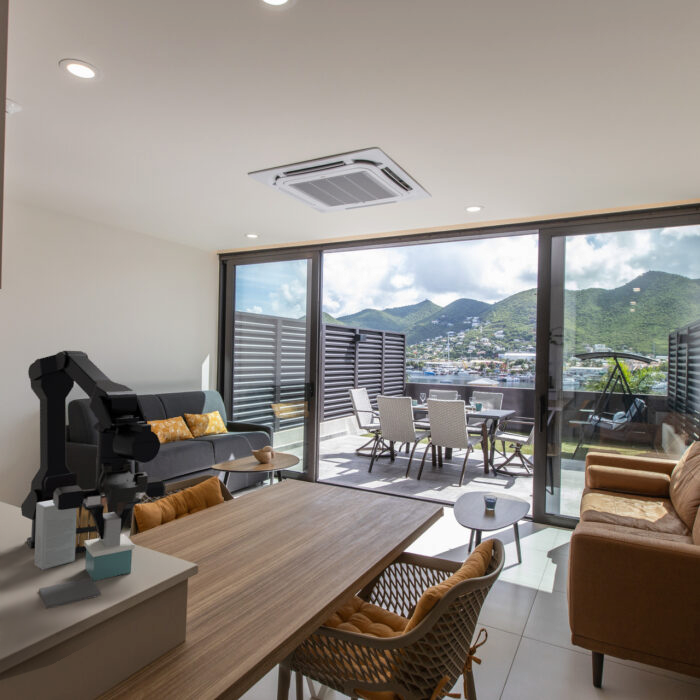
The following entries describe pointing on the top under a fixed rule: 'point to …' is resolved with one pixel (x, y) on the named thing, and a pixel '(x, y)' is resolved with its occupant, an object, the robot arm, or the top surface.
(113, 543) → the lid
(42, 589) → the mat
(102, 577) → the teal open box
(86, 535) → the ammunition clip
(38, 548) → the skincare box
